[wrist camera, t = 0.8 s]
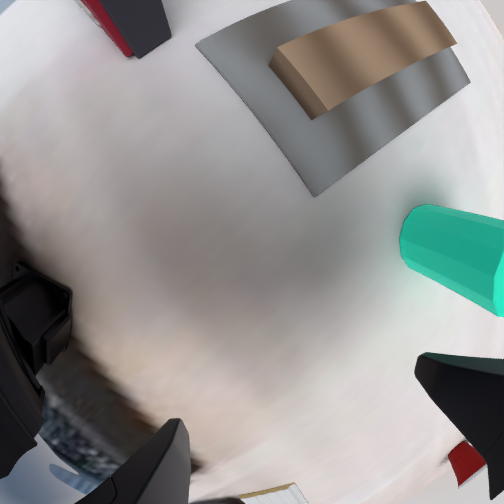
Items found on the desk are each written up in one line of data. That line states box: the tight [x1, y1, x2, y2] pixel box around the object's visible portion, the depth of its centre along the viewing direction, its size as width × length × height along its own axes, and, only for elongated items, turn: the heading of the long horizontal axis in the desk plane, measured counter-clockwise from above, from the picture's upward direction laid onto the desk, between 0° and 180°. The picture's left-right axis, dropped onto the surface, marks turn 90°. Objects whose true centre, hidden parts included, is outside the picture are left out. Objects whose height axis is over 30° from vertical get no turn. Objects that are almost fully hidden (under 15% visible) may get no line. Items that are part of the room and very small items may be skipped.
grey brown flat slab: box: [195, 0, 471, 197], centre depth 14 cm, size 24×14×3 cm, turn 126°
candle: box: [399, 204, 504, 317], centre depth 15 cm, size 6×6×12 cm
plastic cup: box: [448, 441, 487, 489], centre depth 33 cm, size 11×11×12 cm
